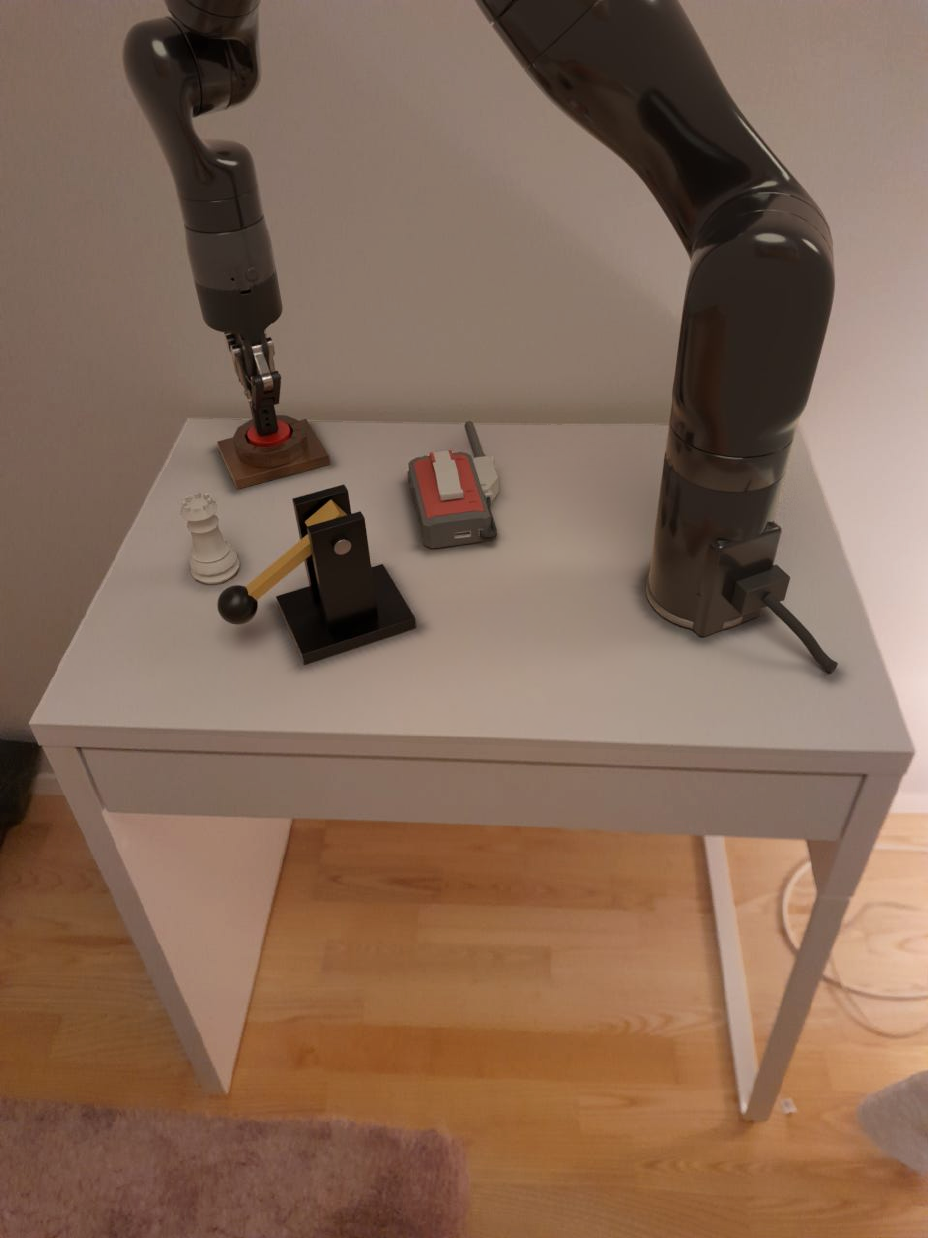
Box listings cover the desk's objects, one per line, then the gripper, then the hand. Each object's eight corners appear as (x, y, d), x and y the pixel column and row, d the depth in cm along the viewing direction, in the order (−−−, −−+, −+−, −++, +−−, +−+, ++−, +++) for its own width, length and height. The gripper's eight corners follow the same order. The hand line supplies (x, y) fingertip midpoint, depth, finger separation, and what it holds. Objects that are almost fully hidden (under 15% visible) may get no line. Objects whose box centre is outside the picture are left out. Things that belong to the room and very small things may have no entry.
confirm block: (307, 427, 104) (303, 403, 102) (330, 464, 99) (326, 440, 97) (219, 450, 102) (213, 426, 99) (237, 489, 96) (231, 465, 94)
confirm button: (285, 430, 101) (283, 415, 100) (297, 450, 98) (294, 436, 97) (245, 440, 100) (242, 426, 99) (256, 461, 97) (253, 446, 96)
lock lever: (240, 638, 76) (213, 620, 74) (231, 614, 78) (205, 595, 76) (362, 536, 75) (338, 514, 72) (349, 514, 77) (325, 492, 75)
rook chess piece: (250, 570, 87) (232, 500, 81) (208, 593, 85) (187, 522, 79) (224, 548, 89) (205, 479, 84) (182, 570, 87) (160, 500, 82)
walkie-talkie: (518, 546, 88) (478, 432, 102) (518, 508, 85) (477, 396, 99) (425, 559, 87) (398, 442, 101) (422, 521, 84) (395, 406, 98)
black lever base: (304, 665, 78) (280, 555, 70) (278, 606, 83) (252, 497, 75) (416, 628, 80) (405, 518, 72) (383, 573, 86) (370, 465, 78)
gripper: (178, 250, 89) (217, 410, 101) (209, 305, 81) (248, 473, 92) (255, 235, 91) (284, 393, 103) (294, 287, 83) (320, 454, 95)
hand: (267, 431), depth 98 cm, fingers closed
